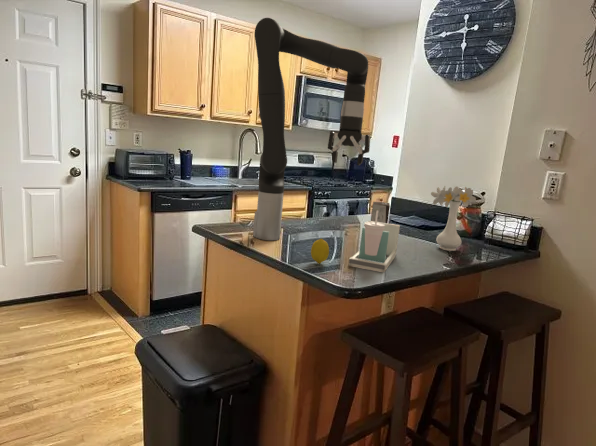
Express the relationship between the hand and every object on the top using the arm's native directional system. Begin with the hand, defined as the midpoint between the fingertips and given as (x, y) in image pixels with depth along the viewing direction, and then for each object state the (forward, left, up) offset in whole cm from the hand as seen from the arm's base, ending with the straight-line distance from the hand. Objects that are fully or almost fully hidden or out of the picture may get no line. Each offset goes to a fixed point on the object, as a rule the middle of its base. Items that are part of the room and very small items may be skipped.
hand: (346, 163), depth 148 cm
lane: (+15, -8, -30) cm, 35 cm away
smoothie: (+15, -15, -27) cm, 34 cm away
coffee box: (+11, +16, -30) cm, 36 cm away
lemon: (+1, -24, -30) cm, 39 cm away
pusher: (+15, -12, -29) cm, 35 cm away
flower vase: (+36, +29, -30) cm, 55 cm away
